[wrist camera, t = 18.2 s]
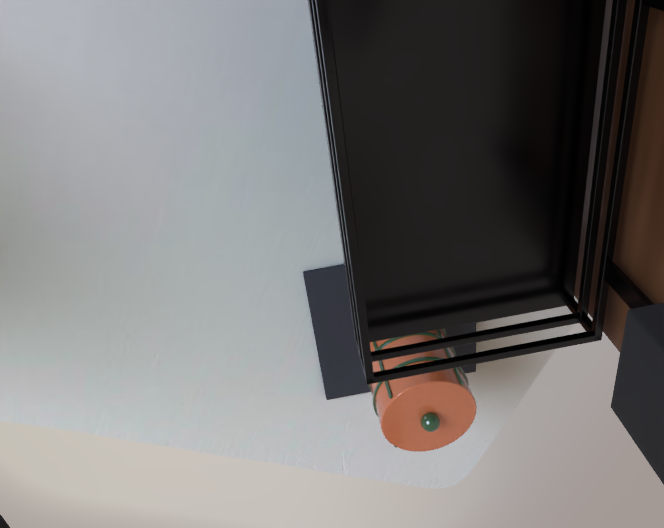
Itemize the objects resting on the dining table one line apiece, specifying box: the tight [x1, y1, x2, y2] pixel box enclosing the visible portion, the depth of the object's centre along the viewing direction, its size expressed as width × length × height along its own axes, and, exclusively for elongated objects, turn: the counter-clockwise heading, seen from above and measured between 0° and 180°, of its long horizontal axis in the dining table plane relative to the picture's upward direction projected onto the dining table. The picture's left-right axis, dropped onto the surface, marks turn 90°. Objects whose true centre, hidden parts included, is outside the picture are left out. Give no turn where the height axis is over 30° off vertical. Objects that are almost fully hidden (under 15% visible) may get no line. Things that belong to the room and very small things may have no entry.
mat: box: [303, 264, 476, 400], centre depth 46 cm, size 12×12×1 cm
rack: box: [574, 0, 664, 352], centre depth 27 cm, size 10×21×23 cm, turn 7°
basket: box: [308, 0, 664, 384], centre depth 22 cm, size 14×20×13 cm
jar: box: [368, 329, 476, 451], centre depth 41 cm, size 6×6×10 cm
